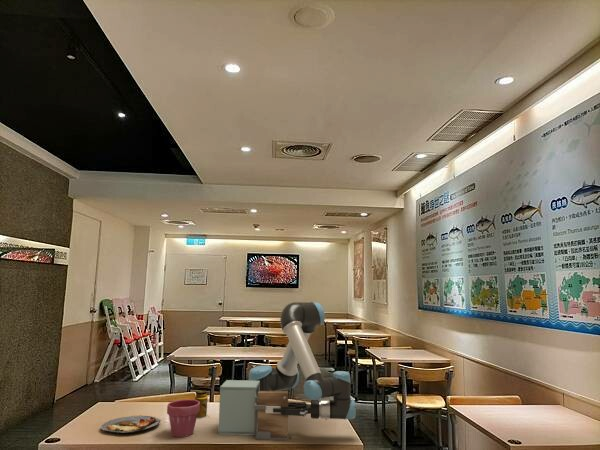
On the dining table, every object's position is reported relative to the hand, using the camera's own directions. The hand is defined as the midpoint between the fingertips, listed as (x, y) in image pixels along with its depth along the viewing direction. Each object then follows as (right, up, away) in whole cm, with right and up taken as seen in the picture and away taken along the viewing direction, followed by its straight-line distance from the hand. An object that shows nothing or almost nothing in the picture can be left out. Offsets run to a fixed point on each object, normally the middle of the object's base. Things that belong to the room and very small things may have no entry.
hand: (266, 408), depth 182 cm
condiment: (-36, -16, +27) cm, 48 cm away
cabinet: (-5, -13, +4) cm, 14 cm away
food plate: (-63, -13, +9) cm, 65 cm away
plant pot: (-37, -12, +1) cm, 39 cm away
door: (+3, -11, -2) cm, 12 cm away
